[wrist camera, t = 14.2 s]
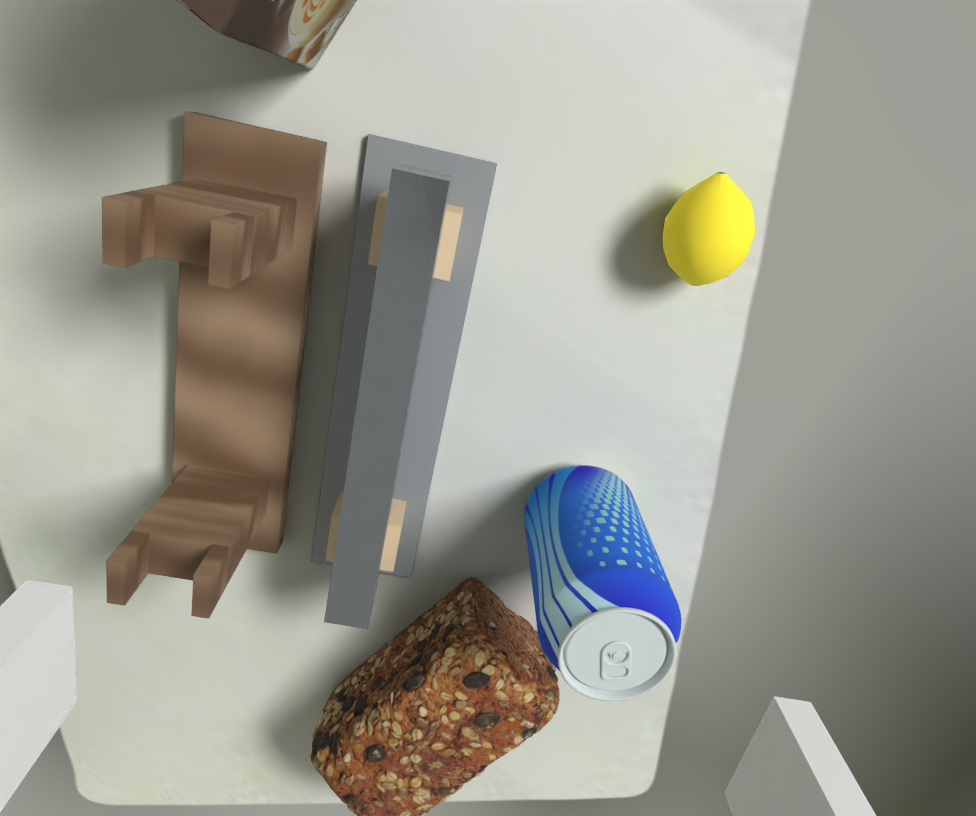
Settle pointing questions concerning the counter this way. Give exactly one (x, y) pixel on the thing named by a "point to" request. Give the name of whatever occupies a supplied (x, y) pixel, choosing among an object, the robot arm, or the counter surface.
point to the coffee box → (277, 24)
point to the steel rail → (386, 386)
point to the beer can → (599, 586)
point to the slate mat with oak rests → (436, 347)
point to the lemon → (709, 231)
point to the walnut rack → (224, 345)
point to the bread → (435, 706)
